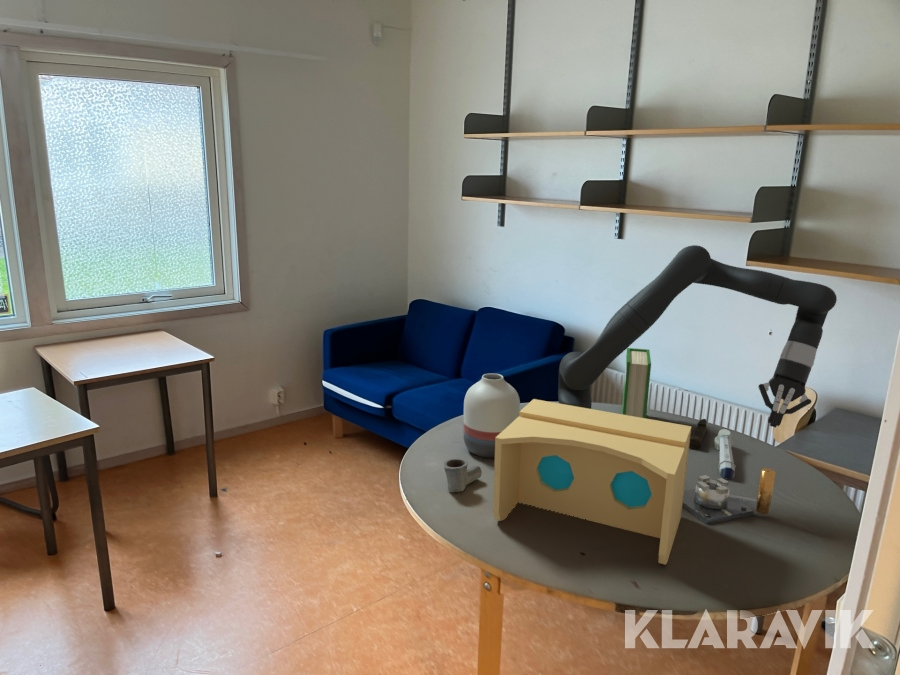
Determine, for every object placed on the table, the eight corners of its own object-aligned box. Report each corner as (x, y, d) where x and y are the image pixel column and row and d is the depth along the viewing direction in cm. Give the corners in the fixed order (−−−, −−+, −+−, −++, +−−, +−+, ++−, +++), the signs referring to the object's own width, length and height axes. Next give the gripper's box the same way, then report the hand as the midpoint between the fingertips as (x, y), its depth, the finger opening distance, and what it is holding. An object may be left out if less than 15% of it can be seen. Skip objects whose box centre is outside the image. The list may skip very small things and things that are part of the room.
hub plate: (706, 524, 158) (707, 518, 157) (670, 497, 171) (670, 492, 170) (752, 515, 162) (753, 509, 162) (713, 489, 175) (714, 484, 175)
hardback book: (644, 433, 212) (651, 363, 206) (621, 431, 214) (627, 361, 208) (643, 414, 229) (649, 349, 223) (621, 412, 230) (627, 347, 224)
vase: (473, 435, 209) (475, 365, 203) (524, 443, 203) (527, 372, 197) (454, 456, 194) (456, 381, 188) (509, 465, 188) (512, 388, 182)
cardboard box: (681, 516, 161) (691, 426, 155) (664, 572, 139) (675, 469, 133) (529, 481, 179) (533, 399, 172) (492, 526, 156) (495, 432, 150)
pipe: (485, 482, 178) (486, 455, 176) (453, 499, 169) (454, 470, 167) (468, 475, 182) (469, 449, 180) (437, 491, 173) (437, 463, 171)
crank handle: (693, 504, 164) (698, 464, 161) (695, 490, 171) (699, 452, 168) (770, 519, 157) (776, 478, 154) (768, 504, 164) (774, 465, 162)
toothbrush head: (718, 465, 181) (716, 423, 203) (715, 485, 184) (713, 441, 205) (738, 468, 179) (734, 425, 201) (735, 489, 182) (731, 444, 204)
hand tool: (699, 451, 199) (701, 437, 198) (686, 448, 201) (687, 434, 200) (712, 432, 215) (714, 419, 214) (699, 429, 217) (701, 416, 216)
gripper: (822, 372, 164) (798, 436, 164) (767, 355, 170) (744, 417, 170) (826, 369, 157) (802, 436, 158) (769, 352, 163) (745, 416, 163)
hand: (772, 426), depth 164 cm, fingers closed
